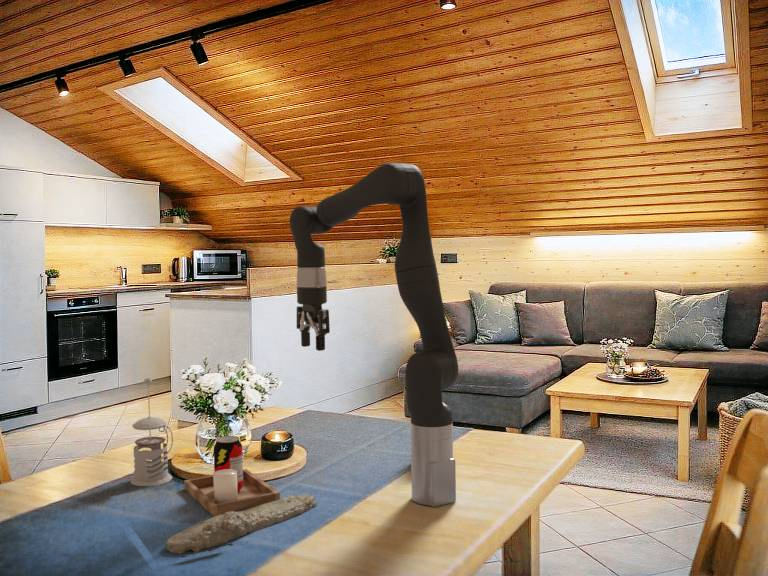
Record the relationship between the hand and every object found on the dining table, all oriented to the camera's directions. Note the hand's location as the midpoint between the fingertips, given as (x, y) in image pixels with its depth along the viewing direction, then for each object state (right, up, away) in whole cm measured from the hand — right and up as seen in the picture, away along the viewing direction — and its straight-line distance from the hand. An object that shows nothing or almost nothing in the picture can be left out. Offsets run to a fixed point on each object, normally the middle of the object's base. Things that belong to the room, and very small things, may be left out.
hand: (313, 348), depth 188 cm
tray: (-16, -32, -24) cm, 43 cm away
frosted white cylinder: (-16, -31, -30) cm, 46 cm away
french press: (-38, -32, -8) cm, 50 cm away
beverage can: (-17, -31, -21) cm, 41 cm away
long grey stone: (-9, -34, -41) cm, 53 cm away
